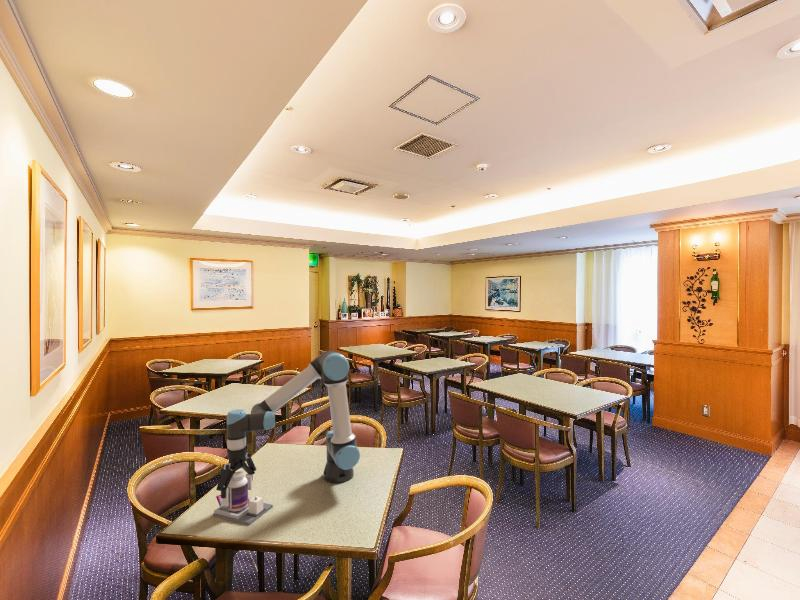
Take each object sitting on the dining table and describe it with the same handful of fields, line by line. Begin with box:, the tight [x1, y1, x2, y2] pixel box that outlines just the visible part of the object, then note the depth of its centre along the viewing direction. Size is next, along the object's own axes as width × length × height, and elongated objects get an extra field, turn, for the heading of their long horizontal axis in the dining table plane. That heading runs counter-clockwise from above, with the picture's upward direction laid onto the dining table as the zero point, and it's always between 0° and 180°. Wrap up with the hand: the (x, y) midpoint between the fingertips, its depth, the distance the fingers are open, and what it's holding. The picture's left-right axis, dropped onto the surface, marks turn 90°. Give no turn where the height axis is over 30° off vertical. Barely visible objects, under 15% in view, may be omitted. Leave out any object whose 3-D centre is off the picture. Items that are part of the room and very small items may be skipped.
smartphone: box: [216, 494, 222, 507], centre depth 173 cm, size 8×1×15 cm
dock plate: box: [212, 495, 274, 526], centre depth 163 cm, size 19×14×7 cm
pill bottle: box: [227, 471, 249, 512], centre depth 165 cm, size 8×8×14 cm
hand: (237, 496), depth 165 cm, fingers open, 13 cm apart
